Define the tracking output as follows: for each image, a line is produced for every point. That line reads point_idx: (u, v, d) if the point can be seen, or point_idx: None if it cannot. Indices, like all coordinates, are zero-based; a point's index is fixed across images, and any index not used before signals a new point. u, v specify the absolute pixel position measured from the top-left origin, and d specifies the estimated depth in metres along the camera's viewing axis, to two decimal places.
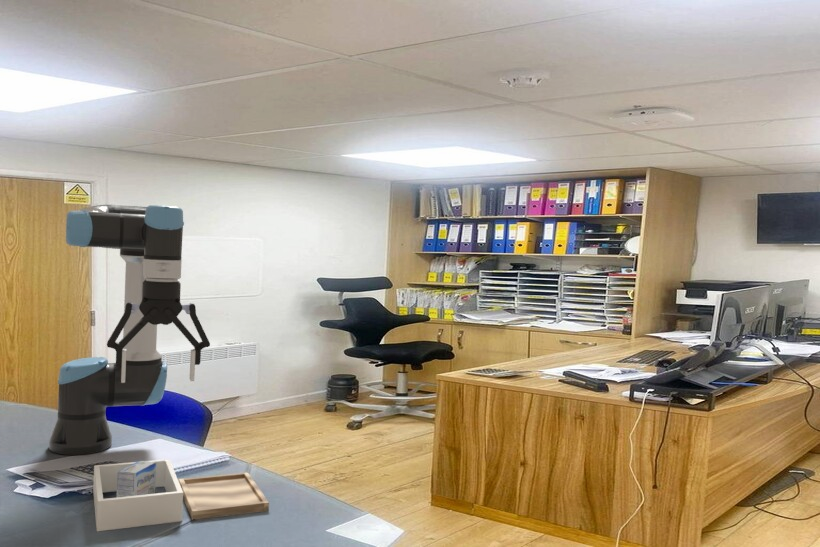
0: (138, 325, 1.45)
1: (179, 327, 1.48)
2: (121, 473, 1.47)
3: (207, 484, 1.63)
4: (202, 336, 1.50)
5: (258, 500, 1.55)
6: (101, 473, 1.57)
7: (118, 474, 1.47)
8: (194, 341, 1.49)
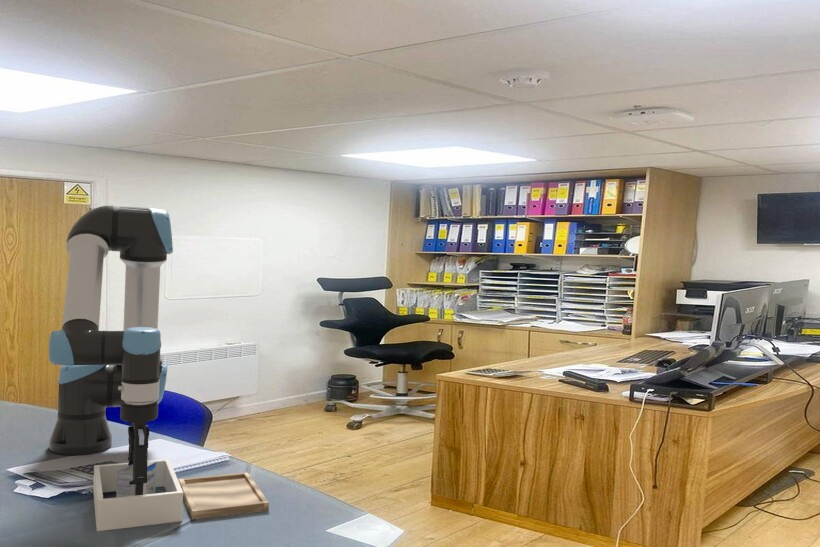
0: None
1: (133, 452, 1.47)
2: (121, 473, 1.47)
3: (207, 484, 1.63)
4: (134, 471, 1.44)
5: (258, 500, 1.55)
6: (101, 473, 1.57)
7: (118, 474, 1.47)
8: (133, 473, 1.45)
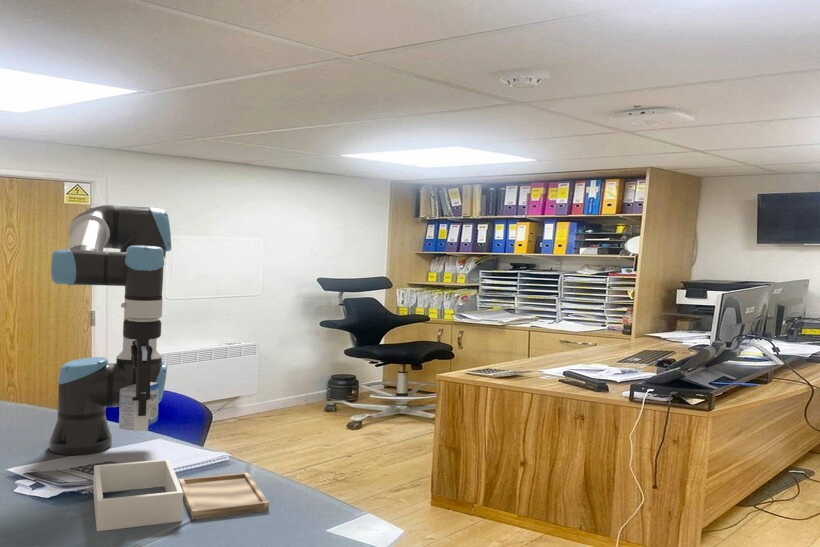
0: None
1: (136, 370, 1.46)
2: (124, 390, 1.46)
3: (207, 484, 1.63)
4: (137, 386, 1.43)
5: (258, 500, 1.55)
6: (101, 473, 1.57)
7: (121, 391, 1.46)
8: (136, 389, 1.45)
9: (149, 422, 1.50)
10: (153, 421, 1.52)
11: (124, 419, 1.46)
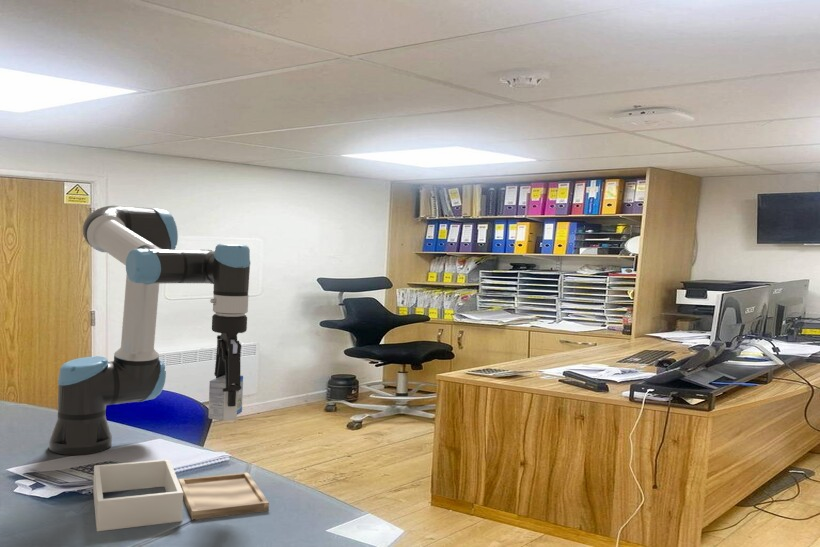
0: None
1: (225, 362, 1.53)
2: (214, 382, 1.53)
3: (207, 484, 1.63)
4: (228, 378, 1.50)
5: (258, 500, 1.55)
6: (101, 473, 1.57)
7: (210, 383, 1.53)
8: (226, 381, 1.51)
9: None
10: (238, 412, 1.59)
11: (213, 410, 1.53)
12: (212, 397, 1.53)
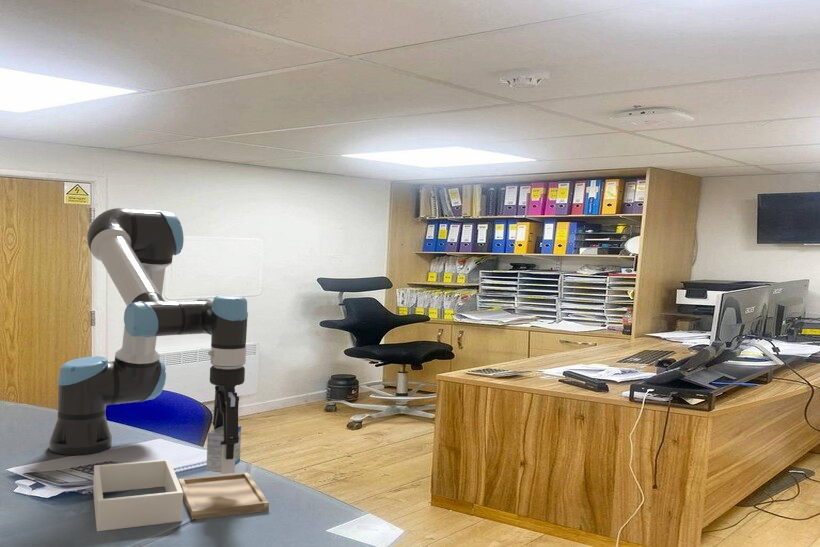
0: None
1: (222, 415, 1.54)
2: (212, 434, 1.53)
3: (207, 484, 1.63)
4: (226, 431, 1.50)
5: (258, 500, 1.55)
6: (101, 473, 1.57)
7: (208, 435, 1.54)
8: (224, 434, 1.52)
9: None
10: (236, 462, 1.59)
11: (211, 462, 1.54)
12: (210, 449, 1.54)
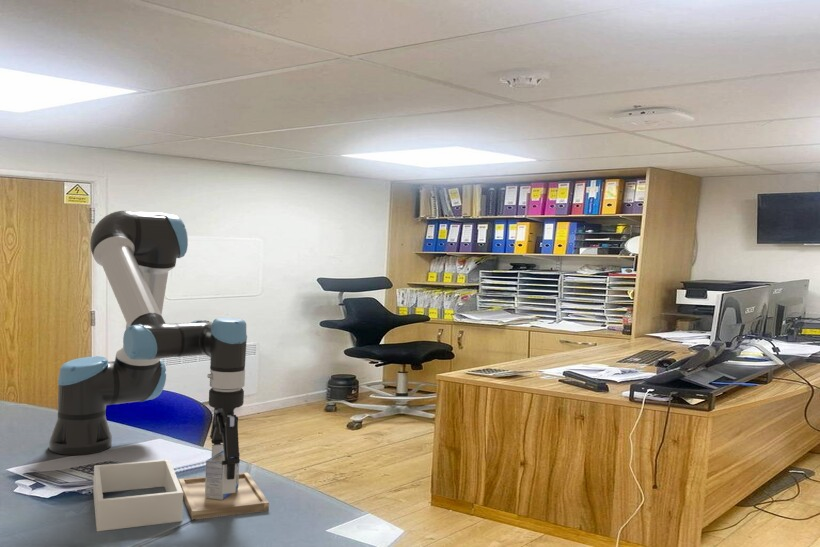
0: None
1: (222, 436, 1.53)
2: (210, 462, 1.54)
3: None
4: (226, 452, 1.49)
5: (258, 500, 1.55)
6: (101, 473, 1.57)
7: (207, 463, 1.54)
8: (224, 454, 1.51)
9: None
10: None
11: (209, 489, 1.54)
12: (208, 477, 1.54)
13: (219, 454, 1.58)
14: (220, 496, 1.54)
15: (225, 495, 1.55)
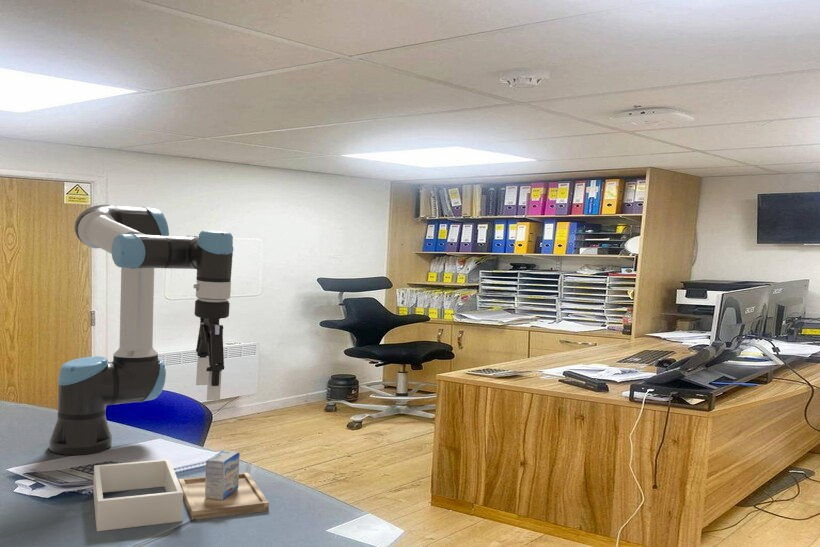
0: None
1: (207, 345, 1.56)
2: (210, 462, 1.54)
3: None
4: (211, 358, 1.52)
5: (258, 500, 1.55)
6: (101, 473, 1.57)
7: (207, 463, 1.54)
8: (209, 361, 1.53)
9: (232, 490, 1.58)
10: (235, 489, 1.60)
11: (209, 489, 1.54)
12: (208, 477, 1.54)
13: (219, 454, 1.58)
14: (220, 496, 1.54)
15: (225, 495, 1.55)
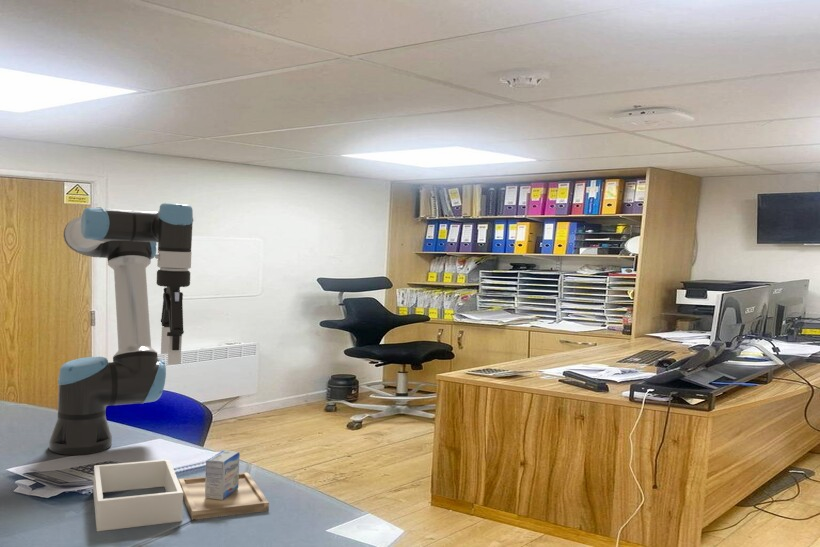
0: None
1: (169, 312, 1.63)
2: (210, 462, 1.54)
3: None
4: (171, 323, 1.59)
5: (258, 500, 1.55)
6: (101, 473, 1.57)
7: (207, 463, 1.54)
8: (170, 326, 1.60)
9: (232, 490, 1.58)
10: (235, 489, 1.60)
11: (209, 489, 1.54)
12: (208, 477, 1.54)
13: (219, 454, 1.58)
14: (220, 496, 1.54)
15: (225, 495, 1.55)
